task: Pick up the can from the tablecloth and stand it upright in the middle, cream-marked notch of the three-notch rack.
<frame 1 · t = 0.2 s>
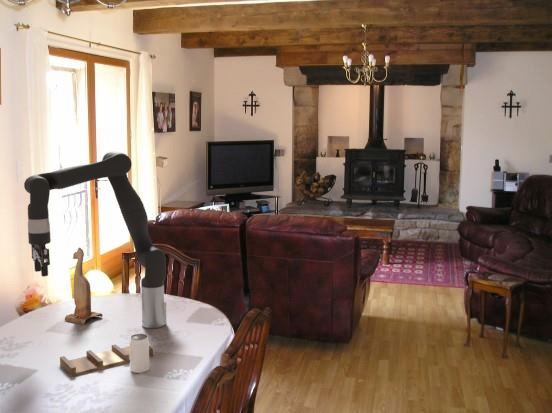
hand: (41, 273, 227), 29 cm above the table, tool pointing down, fingers open, 8 cm apart
bird sculpture: (84, 319, 264), on the table
notch rack: (107, 360, 220), on the table
can: (139, 370, 213), on the table
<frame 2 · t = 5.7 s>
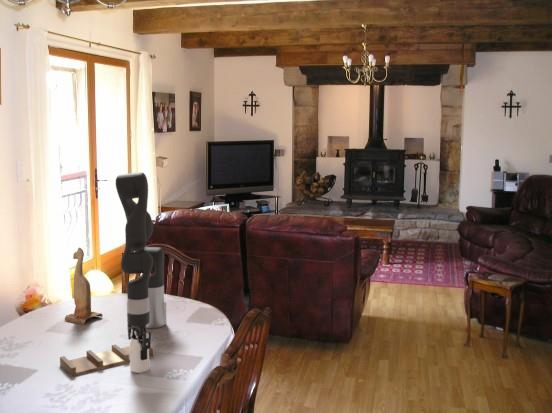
hand: (139, 356, 212), 5 cm above the table, tool pointing down, fingers closed on can, 6 cm apart
can: (139, 370, 213), on the table, touching gripper
everything else where it was.
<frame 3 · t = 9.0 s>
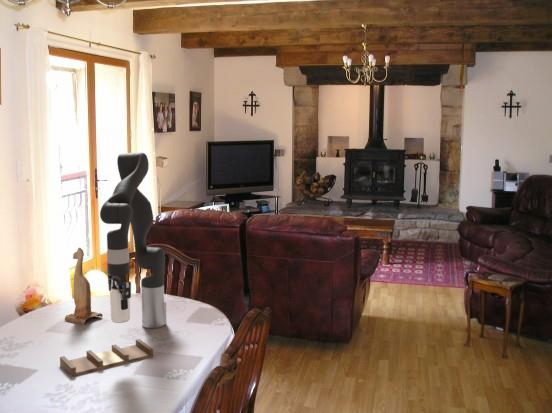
hand: (120, 306, 215), 21 cm above the table, tool pointing down, fingers closed on can, 6 cm apart
can: (120, 320, 216), point 16 cm above the table, touching gripper
everything else where it was.
when the fingers open (7 cm above the table, at t = 12.7 s): can stays where it is, resting on notch rack.
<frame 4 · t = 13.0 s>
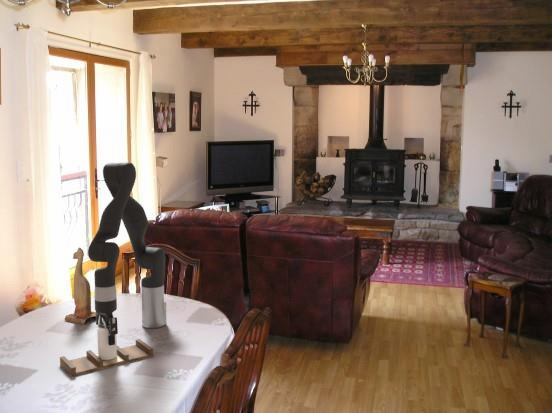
hand: (107, 341, 219), 7 cm above the table, tool pointing down, fingers open, 8 cm apart
can: (107, 357, 220), point 1 cm above the table, touching notch rack
everything else where it was.
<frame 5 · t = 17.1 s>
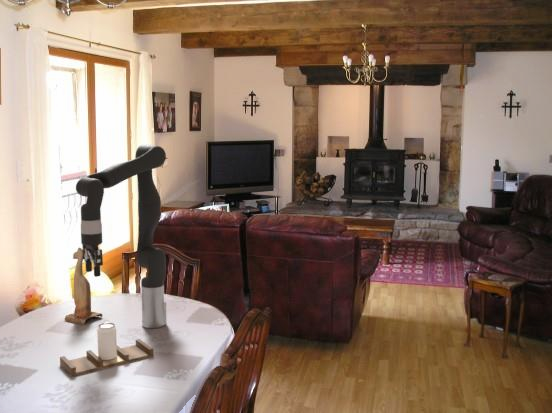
hand: (93, 273, 231), 28 cm above the table, tool pointing down, fingers open, 8 cm apart
nothing on the table moved.
at the end: can 0.0 cm off-centre on the notch rack, point 1.0 cm above the notch rack's base; can tilted 0°; the gripper is holding nothing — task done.
